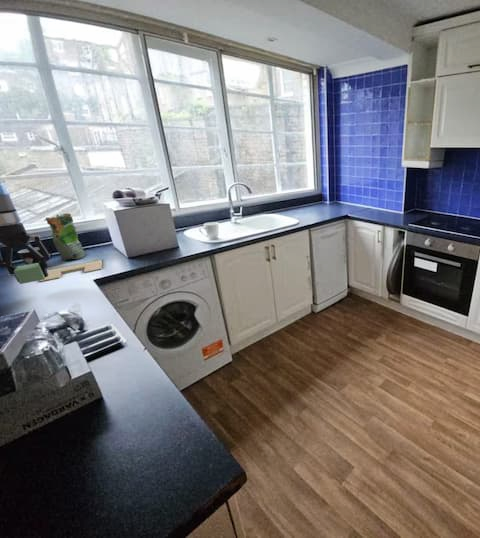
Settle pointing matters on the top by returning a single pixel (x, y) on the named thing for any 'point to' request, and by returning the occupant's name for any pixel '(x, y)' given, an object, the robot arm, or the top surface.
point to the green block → (29, 273)
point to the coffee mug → (31, 256)
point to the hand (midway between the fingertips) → (33, 278)
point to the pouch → (65, 237)
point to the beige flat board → (87, 268)
